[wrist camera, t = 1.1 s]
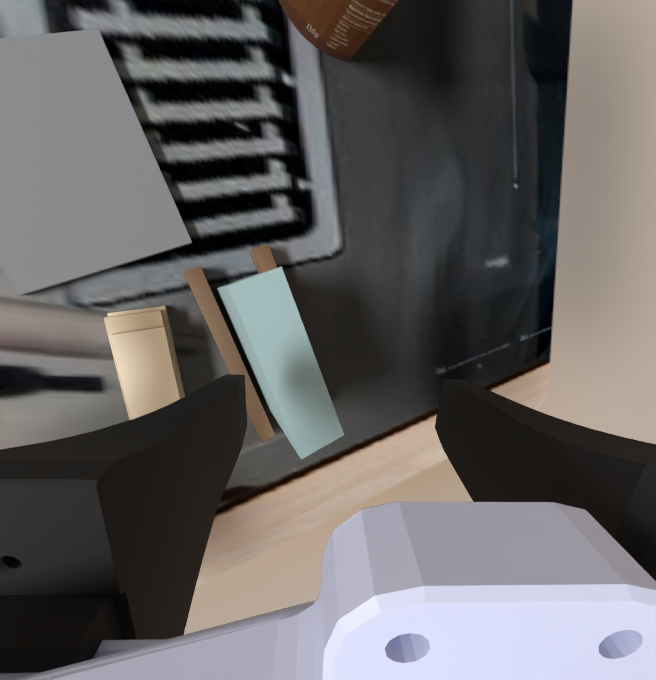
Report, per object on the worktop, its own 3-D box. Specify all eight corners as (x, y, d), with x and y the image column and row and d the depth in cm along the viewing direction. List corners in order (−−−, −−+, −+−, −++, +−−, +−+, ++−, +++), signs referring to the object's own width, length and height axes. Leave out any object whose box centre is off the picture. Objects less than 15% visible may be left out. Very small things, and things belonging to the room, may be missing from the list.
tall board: (267, 406, 23) (301, 459, 16) (216, 288, 21) (227, 285, 13) (298, 391, 24) (344, 434, 17) (252, 275, 22) (281, 266, 14)
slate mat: (24, 295, 17) (19, 295, 17) (-118, 60, 14) (-131, 50, 14) (192, 243, 20) (191, 242, 19) (101, 37, 17) (98, 28, 16)
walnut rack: (257, 433, 23) (261, 442, 22) (184, 273, 20) (183, 271, 18) (322, 400, 25) (329, 406, 23) (263, 246, 21) (268, 243, 20)
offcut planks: (148, 464, 21) (141, 487, 18) (111, 312, 19) (98, 315, 17) (197, 450, 22) (197, 470, 20) (166, 305, 20) (162, 307, 18)
